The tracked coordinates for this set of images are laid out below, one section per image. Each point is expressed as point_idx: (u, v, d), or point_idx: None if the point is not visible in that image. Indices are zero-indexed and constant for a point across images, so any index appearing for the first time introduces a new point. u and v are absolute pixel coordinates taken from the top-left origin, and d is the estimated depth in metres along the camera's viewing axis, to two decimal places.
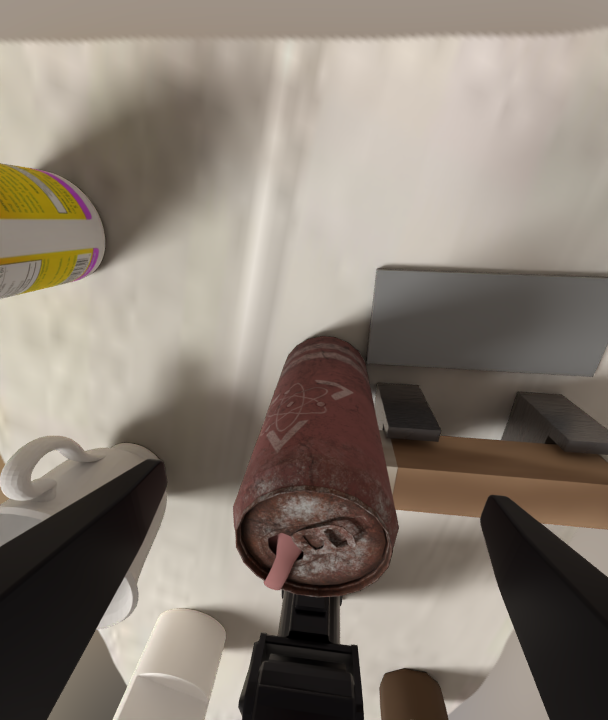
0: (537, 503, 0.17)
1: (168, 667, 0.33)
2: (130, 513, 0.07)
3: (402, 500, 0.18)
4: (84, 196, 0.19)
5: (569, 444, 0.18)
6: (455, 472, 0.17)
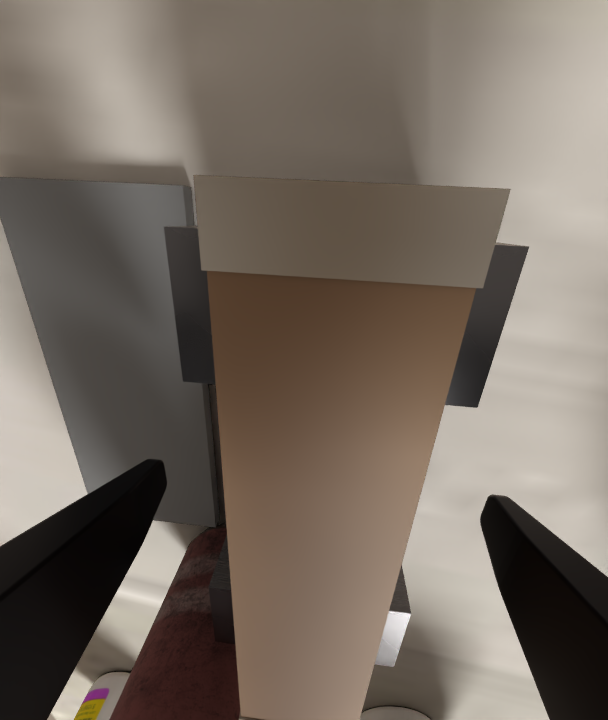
0: (322, 529, 0.05)
1: None
2: (130, 513, 0.07)
3: None
4: (100, 680, 0.24)
5: (197, 376, 0.07)
6: None
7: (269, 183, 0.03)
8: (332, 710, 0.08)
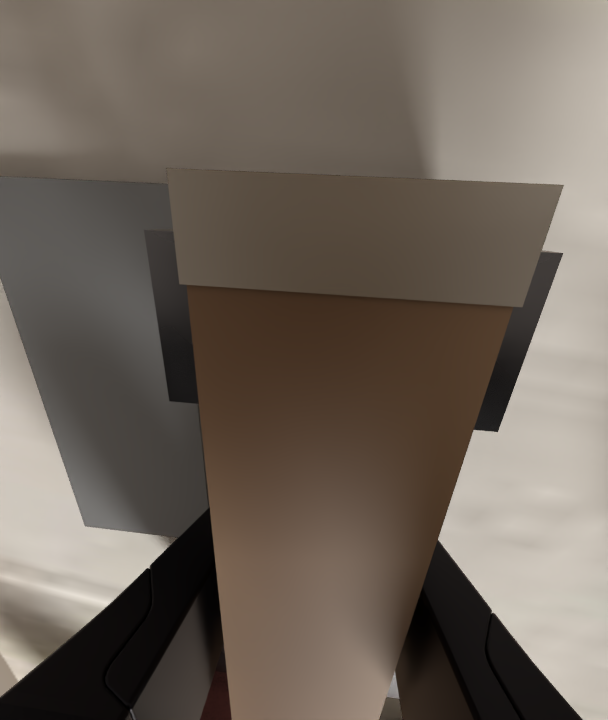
0: (324, 574, 0.05)
1: None
2: None
3: None
4: None
5: (185, 396, 0.06)
6: (230, 703, 0.07)
7: (260, 178, 0.03)
8: None
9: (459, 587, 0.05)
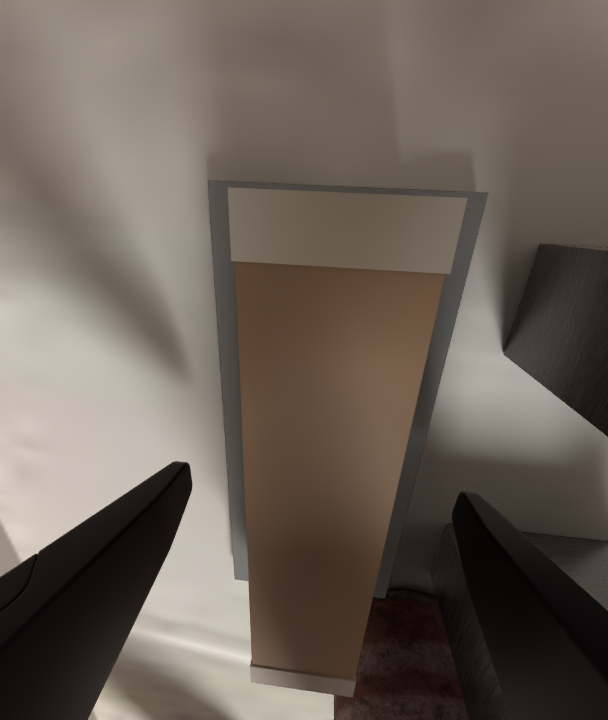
0: (325, 481, 0.07)
1: None
2: (161, 516, 0.07)
3: (330, 665, 0.09)
4: None
5: None
6: (250, 606, 0.09)
7: (285, 194, 0.04)
8: (333, 655, 0.09)
9: (585, 603, 0.05)
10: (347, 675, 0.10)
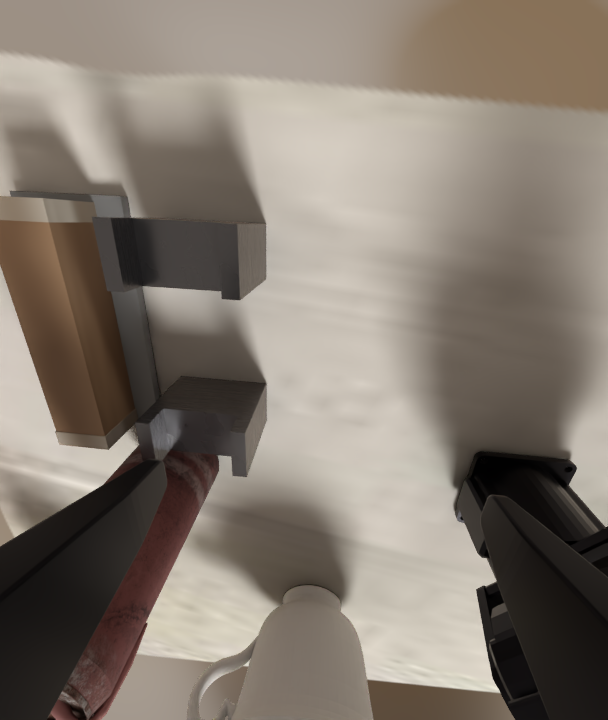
0: (45, 310, 0.16)
1: None
2: (130, 513, 0.07)
3: (90, 426, 0.19)
4: None
5: (113, 288, 0.14)
6: (42, 388, 0.18)
7: None
8: (89, 418, 0.19)
9: None
10: (100, 433, 0.19)
